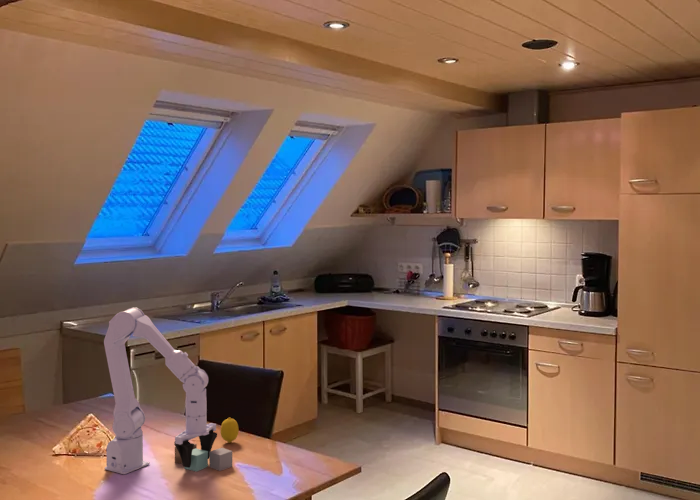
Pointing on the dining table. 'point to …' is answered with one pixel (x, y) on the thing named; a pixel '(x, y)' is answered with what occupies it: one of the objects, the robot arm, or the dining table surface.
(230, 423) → the lemon
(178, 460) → the walnut block
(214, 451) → the grey block
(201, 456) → the teal block
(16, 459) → the dining table surface
